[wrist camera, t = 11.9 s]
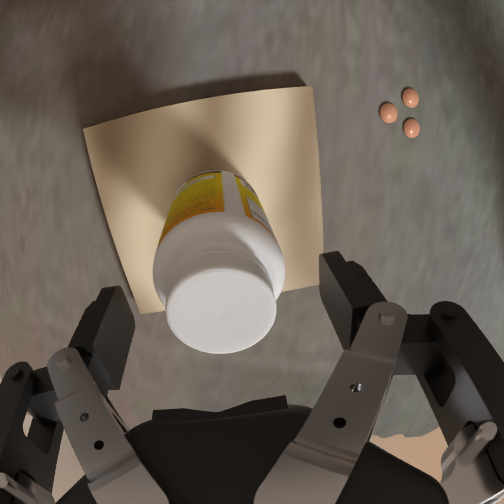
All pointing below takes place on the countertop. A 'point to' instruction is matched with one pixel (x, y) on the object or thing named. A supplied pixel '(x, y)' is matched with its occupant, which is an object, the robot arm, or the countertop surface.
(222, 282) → the supplement bottle
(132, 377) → the countertop surface
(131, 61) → the countertop surface
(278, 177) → the oak board
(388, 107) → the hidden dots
